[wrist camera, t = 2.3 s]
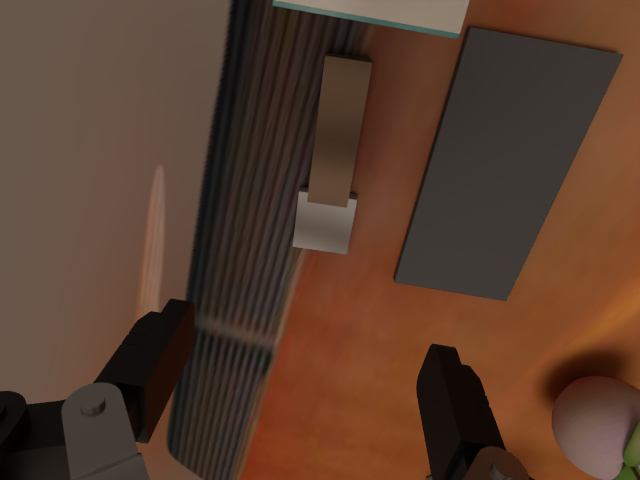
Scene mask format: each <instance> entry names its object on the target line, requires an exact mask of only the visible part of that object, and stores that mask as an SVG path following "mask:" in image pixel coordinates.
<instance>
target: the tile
mask: <svg viewBox="0 0 640 480" xmlns="http://www.w3.org/2000/svg"><path fill="white" fill-rule="evenodd" d="M468 4H469V0H273V6H278V7H283V8H289V9H294V10H300V11H305V12H311V13H316V14H322V15H327V16H333V17H338V18H344V19H349V20H355V21H360V22H366V23H372V24H377V25H383V26H388V27H394V28H399V29H405V30H410V31H416V32H421V33H427V34H432V35H438V36H444V37H449V38H455V39H458V38H459V35H460V31H461V28H462V25H463V21H464V18H465V14H466V11H467V7H468Z"/></svg>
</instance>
